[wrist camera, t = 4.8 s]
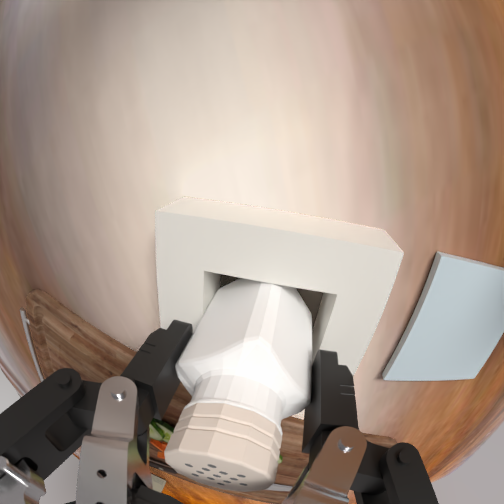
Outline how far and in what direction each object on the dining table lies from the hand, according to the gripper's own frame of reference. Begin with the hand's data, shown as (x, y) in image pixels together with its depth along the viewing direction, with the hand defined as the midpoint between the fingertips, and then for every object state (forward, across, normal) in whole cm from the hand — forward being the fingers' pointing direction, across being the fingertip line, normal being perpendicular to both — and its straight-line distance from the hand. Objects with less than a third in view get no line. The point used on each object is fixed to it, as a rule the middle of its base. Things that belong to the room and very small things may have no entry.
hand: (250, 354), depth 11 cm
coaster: (+5, -13, 0) cm, 14 cm away
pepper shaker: (+4, 0, 0) cm, 4 cm away
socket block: (+5, 0, 0) cm, 5 cm away
